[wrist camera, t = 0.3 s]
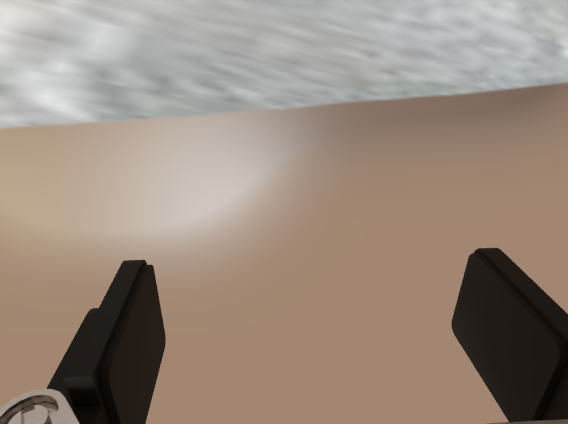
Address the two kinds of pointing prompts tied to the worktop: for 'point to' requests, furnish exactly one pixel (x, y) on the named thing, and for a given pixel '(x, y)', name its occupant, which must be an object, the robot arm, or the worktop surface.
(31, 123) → the worktop surface
